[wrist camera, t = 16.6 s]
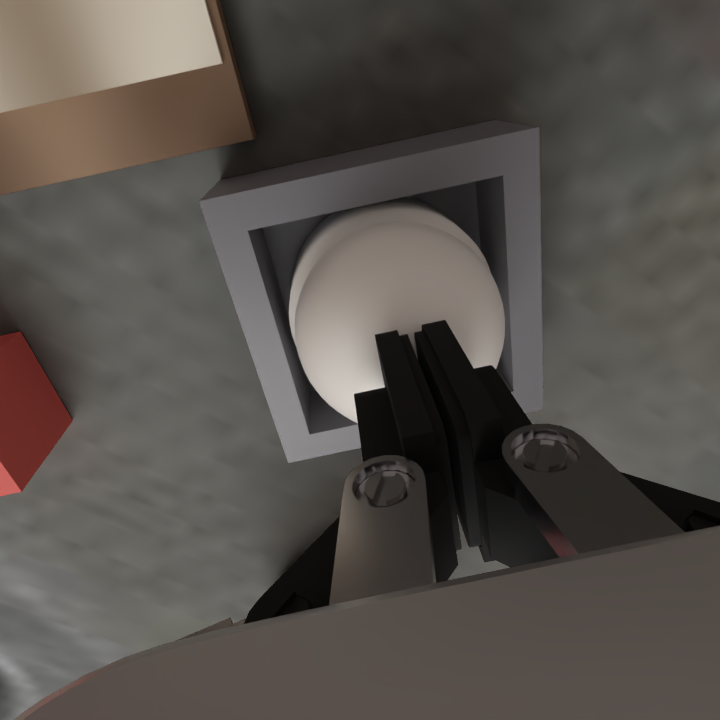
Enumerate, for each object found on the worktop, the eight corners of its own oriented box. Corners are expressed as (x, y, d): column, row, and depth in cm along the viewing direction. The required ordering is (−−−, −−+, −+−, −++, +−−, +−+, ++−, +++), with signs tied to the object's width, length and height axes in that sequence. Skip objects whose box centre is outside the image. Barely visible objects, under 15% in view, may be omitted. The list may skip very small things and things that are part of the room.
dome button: (468, 175, 16) (548, 219, 10) (482, 352, 19) (550, 455, 13) (268, 219, 16) (247, 283, 10) (315, 387, 19) (317, 503, 13)
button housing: (495, 119, 16) (539, 127, 13) (508, 360, 20) (543, 409, 17) (219, 179, 16) (198, 201, 13) (291, 406, 20) (288, 463, 17)
